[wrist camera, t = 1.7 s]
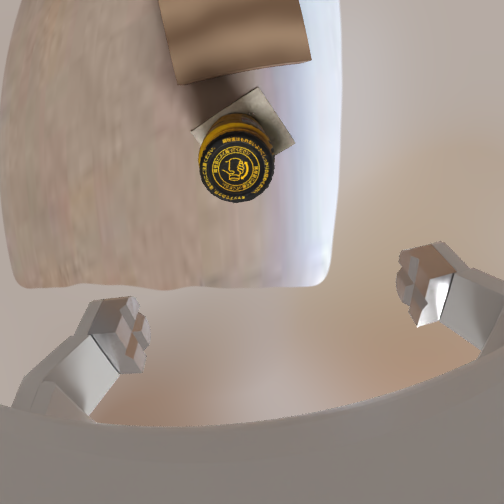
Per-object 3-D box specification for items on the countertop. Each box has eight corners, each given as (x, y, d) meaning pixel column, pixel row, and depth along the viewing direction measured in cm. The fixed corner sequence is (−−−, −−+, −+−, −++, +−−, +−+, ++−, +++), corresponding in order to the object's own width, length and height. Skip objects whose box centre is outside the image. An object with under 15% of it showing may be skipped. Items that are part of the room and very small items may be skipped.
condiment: (190, 131, 29) (167, 159, 19) (258, 87, 27) (272, 88, 17) (230, 183, 33) (229, 235, 23) (294, 142, 31) (326, 175, 20)
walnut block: (164, -10, 20) (153, -24, 16) (277, -31, 20) (285, -48, 15) (186, 84, 27) (177, 85, 22) (299, 63, 26) (311, 60, 22)
